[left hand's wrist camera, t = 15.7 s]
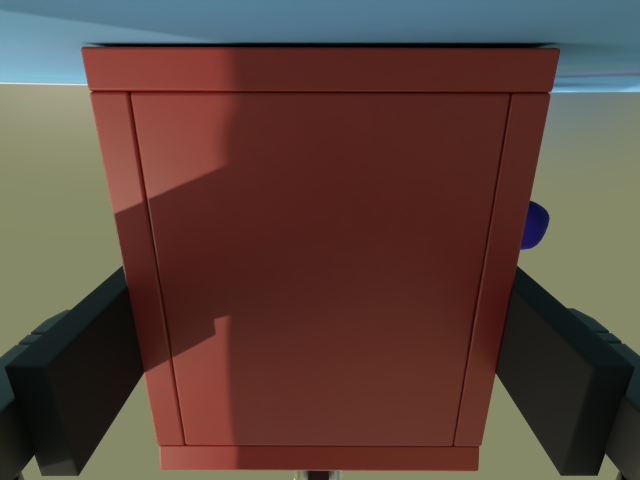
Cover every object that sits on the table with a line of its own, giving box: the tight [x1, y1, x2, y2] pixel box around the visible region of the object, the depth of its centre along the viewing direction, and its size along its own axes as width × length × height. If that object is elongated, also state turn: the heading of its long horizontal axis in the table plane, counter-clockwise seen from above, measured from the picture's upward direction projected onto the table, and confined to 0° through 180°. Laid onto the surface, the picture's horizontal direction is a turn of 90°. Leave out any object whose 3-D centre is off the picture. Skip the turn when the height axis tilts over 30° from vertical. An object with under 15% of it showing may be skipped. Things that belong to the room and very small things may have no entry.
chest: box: [81, 47, 560, 446], centre depth 18 cm, size 17×10×11 cm, turn 0°
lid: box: [159, 443, 479, 471], centre depth 21 cm, size 18×10×8 cm, turn 179°
